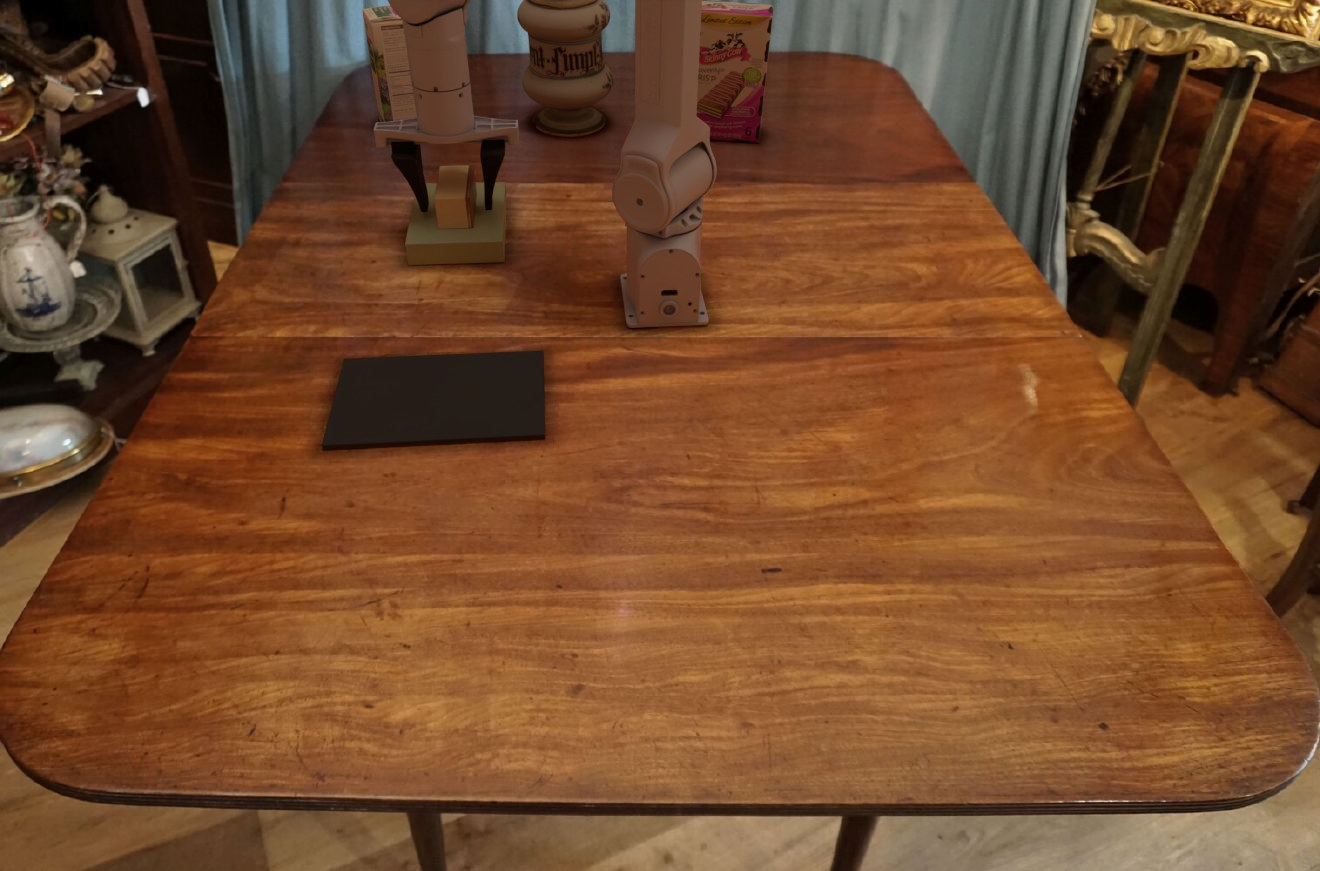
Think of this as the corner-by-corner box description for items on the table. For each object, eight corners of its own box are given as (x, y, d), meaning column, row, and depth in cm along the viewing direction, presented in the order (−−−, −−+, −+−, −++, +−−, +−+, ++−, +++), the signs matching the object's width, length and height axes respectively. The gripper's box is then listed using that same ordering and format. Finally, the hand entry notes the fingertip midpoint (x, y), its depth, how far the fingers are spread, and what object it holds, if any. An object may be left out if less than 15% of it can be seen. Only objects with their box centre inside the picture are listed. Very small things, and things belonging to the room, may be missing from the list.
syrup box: (378, 120, 126) (358, 7, 117) (421, 114, 128) (405, 2, 119) (387, 136, 123) (368, 21, 113) (432, 130, 125) (416, 15, 115)
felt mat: (545, 438, 78) (544, 434, 77) (322, 450, 76) (321, 445, 76) (543, 354, 87) (543, 350, 86) (344, 362, 85) (343, 358, 85)
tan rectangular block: (473, 228, 99) (470, 197, 97) (438, 229, 99) (433, 198, 97) (476, 194, 105) (473, 164, 103) (443, 194, 105) (439, 165, 103)
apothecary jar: (514, 112, 130) (502, -28, 118) (595, 100, 134) (592, -36, 122) (540, 146, 122) (531, -1, 110) (626, 133, 125) (626, -11, 114)
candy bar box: (676, 139, 124) (681, 9, 113) (679, 124, 128) (684, -3, 117) (760, 144, 124) (773, 14, 113) (761, 129, 127) (773, 2, 117)
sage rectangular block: (504, 262, 99) (502, 241, 97) (408, 265, 98) (404, 244, 96) (506, 201, 110) (505, 181, 108) (420, 203, 109) (417, 183, 107)
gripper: (515, 66, 97) (524, 188, 106) (371, 68, 95) (393, 191, 104) (514, 92, 91) (523, 218, 100) (362, 94, 90) (385, 222, 99)
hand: (457, 206), depth 102 cm, fingers open, 6 cm apart
